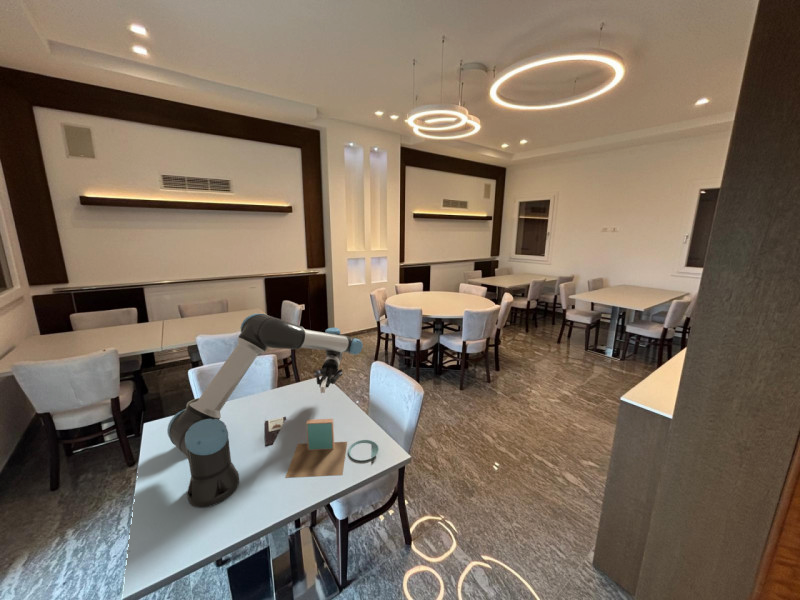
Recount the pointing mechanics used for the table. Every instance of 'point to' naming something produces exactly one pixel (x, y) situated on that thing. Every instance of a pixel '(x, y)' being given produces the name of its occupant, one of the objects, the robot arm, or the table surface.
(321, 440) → the tile
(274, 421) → the chocolate bar
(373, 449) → the saucer
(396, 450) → the table surface
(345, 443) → the board
